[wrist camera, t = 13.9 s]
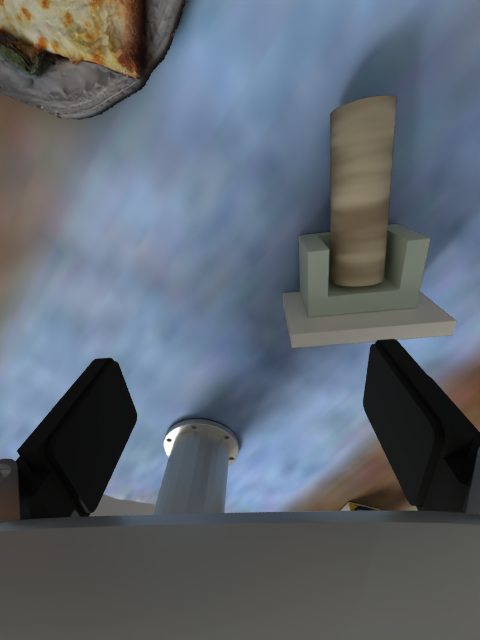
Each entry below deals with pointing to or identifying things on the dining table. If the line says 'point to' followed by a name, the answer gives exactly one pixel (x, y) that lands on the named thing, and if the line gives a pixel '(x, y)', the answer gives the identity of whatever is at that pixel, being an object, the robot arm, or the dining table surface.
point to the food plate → (82, 51)
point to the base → (364, 324)
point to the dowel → (360, 188)
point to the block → (392, 293)
